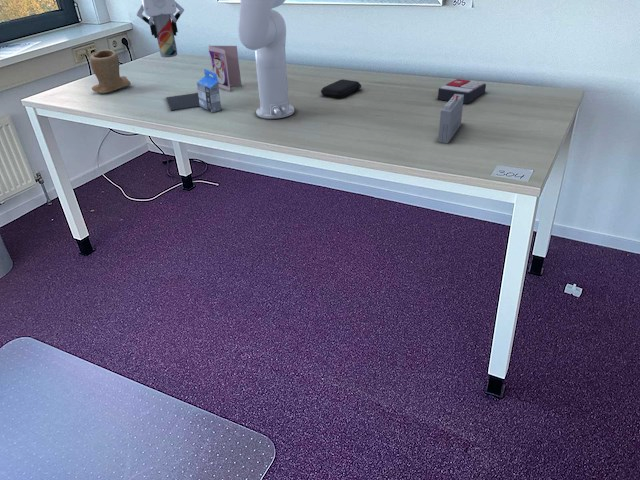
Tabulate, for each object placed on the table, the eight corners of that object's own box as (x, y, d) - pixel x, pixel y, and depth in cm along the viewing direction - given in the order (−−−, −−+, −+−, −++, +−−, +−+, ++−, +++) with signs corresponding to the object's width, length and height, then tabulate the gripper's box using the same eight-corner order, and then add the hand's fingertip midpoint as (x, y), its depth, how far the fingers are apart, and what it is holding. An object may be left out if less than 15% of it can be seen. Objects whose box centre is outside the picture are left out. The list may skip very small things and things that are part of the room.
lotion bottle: (173, 57, 175) (160, -8, 164) (157, 57, 176) (144, -7, 166) (180, 53, 180) (168, -10, 169) (165, 53, 181) (152, -10, 170)
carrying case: (343, 100, 181) (365, 89, 191) (343, 92, 179) (365, 81, 189) (318, 96, 186) (341, 85, 196) (318, 87, 185) (341, 77, 195)
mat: (211, 105, 184) (211, 103, 183) (171, 111, 180) (171, 109, 180) (204, 93, 196) (204, 91, 196) (166, 98, 193) (166, 97, 192)
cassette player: (451, 123, 157) (455, 90, 152) (460, 124, 156) (464, 91, 151) (438, 142, 146) (441, 106, 140) (447, 143, 145) (451, 107, 139)
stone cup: (105, 97, 197) (94, 56, 189) (88, 92, 204) (77, 52, 196) (139, 87, 207) (130, 48, 199) (122, 83, 214) (113, 44, 206)
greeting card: (212, 86, 204) (206, 46, 196) (228, 81, 208) (223, 42, 200) (228, 91, 197) (222, 50, 189) (244, 87, 201) (239, 46, 193)
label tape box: (199, 106, 182) (193, 70, 175) (209, 103, 184) (204, 68, 177) (212, 112, 176) (206, 76, 169) (222, 109, 178) (217, 73, 171)
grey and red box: (486, 81, 180) (469, 90, 169) (485, 94, 182) (467, 104, 171) (456, 77, 185) (438, 86, 175) (455, 89, 187) (437, 99, 177)
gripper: (125, -21, 160) (139, 41, 169) (182, -26, 164) (192, 35, 174) (124, -23, 166) (138, 37, 175) (179, -28, 170) (189, 31, 180)
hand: (165, 35), depth 174 cm, fingers closed on lotion bottle, 5 cm apart
